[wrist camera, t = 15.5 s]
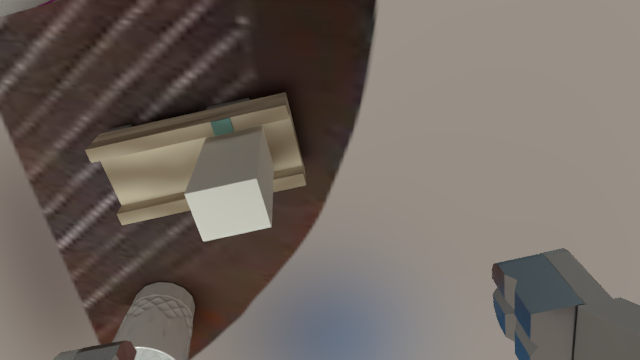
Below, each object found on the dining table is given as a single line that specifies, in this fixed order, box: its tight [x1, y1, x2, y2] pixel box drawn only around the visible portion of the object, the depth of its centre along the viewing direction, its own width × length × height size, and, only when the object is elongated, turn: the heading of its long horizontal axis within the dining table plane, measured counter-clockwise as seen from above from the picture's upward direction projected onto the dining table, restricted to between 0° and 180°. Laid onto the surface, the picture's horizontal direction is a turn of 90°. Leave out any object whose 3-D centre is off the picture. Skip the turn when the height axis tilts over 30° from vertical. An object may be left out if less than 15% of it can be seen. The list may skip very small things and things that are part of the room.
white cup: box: [112, 282, 195, 360], centre depth 49 cm, size 8×8×10 cm
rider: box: [184, 125, 274, 242], centre depth 36 cm, size 4×5×10 cm
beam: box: [85, 92, 306, 225], centre depth 42 cm, size 8×17×6 cm, turn 102°
